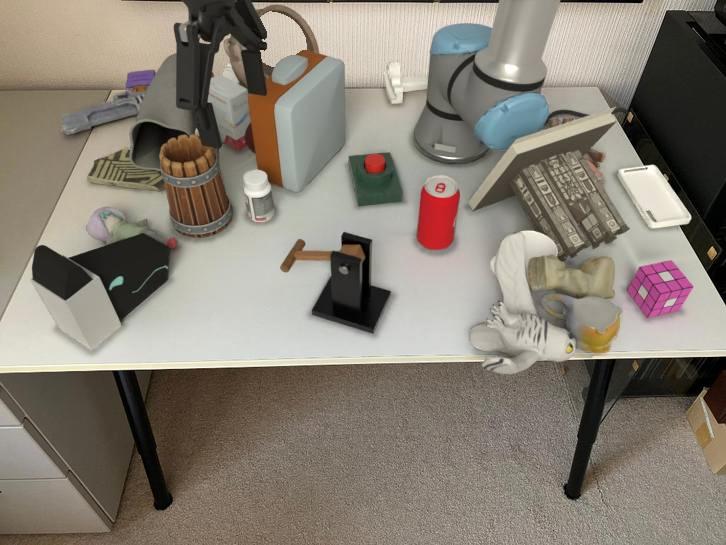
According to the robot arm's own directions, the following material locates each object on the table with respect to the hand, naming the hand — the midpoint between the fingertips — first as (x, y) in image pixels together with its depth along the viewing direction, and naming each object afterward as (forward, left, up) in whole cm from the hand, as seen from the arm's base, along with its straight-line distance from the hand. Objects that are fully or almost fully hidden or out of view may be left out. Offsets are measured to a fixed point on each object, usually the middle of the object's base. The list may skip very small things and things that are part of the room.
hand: (236, 118), depth 88 cm
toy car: (+2, -48, -25) cm, 54 cm away
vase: (+11, -48, -19) cm, 53 cm away
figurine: (-62, -12, -24) cm, 67 cm away
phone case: (-71, +8, -23) cm, 75 cm away
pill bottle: (-1, -7, -25) cm, 25 cm away
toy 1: (+14, +2, -23) cm, 27 cm away
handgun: (+31, -52, -22) cm, 64 cm away
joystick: (-30, -41, -21) cm, 55 cm away
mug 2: (-45, +26, -17) cm, 55 cm away
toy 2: (-31, +26, -14) cm, 43 cm away
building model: (-48, -3, -14) cm, 51 cm away
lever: (-10, +14, -16) cm, 24 cm away
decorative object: (+21, +10, -24) cm, 34 cm away
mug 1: (+8, -9, -24) cm, 27 cm away
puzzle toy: (-60, +23, -24) cm, 69 cm away
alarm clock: (-10, -20, -24) cm, 33 cm away
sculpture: (-54, +19, -22) cm, 61 cm away
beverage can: (-30, +4, -24) cm, 39 cm away
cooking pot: (-2, -49, -19) cm, 53 cm away
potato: (-5, -23, -22) cm, 32 cm away
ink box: (+3, -30, -24) cm, 39 cm away
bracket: (-14, +16, -24) cm, 32 cm away
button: (-22, -12, -21) cm, 33 cm away
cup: (-41, +15, -24) cm, 50 cm away
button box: (-22, -12, -24) cm, 35 cm away
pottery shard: (+23, -19, -24) cm, 39 cm away
